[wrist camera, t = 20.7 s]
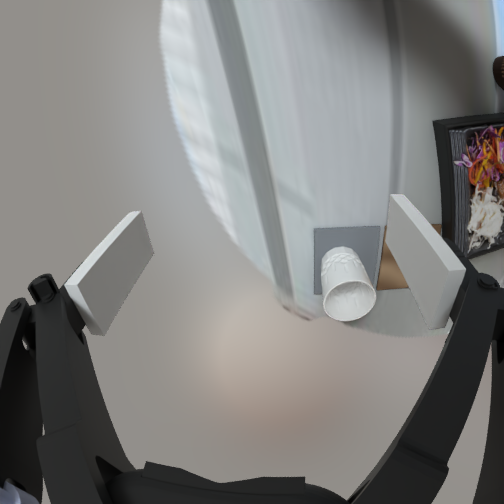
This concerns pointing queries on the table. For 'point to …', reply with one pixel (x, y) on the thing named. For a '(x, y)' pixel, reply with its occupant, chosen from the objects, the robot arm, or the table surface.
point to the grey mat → (351, 237)
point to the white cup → (345, 285)
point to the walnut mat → (393, 267)
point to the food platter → (472, 181)
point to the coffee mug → (499, 71)
